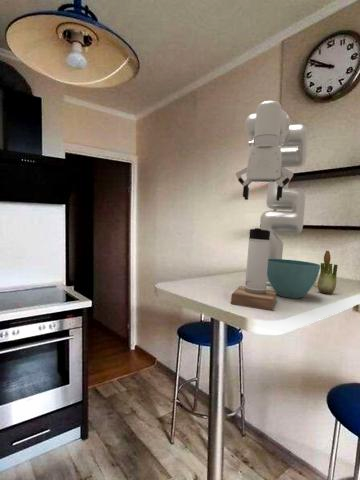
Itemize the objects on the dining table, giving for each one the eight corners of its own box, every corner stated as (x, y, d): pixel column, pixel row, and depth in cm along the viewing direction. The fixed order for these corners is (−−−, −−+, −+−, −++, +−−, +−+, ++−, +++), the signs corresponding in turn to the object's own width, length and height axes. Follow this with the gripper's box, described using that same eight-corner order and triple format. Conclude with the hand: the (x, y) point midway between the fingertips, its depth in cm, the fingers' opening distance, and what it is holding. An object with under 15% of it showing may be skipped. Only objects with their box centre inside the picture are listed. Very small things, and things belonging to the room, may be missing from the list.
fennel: (323, 289, 120) (326, 251, 120) (310, 284, 128) (313, 249, 128) (340, 289, 122) (343, 252, 121) (326, 285, 130) (329, 250, 129)
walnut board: (239, 294, 99) (240, 285, 99) (275, 300, 95) (276, 290, 95) (230, 303, 86) (231, 293, 86) (272, 310, 82) (273, 299, 82)
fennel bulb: (336, 294, 111) (339, 263, 111) (330, 295, 108) (334, 264, 107) (320, 291, 115) (323, 261, 115) (315, 292, 112) (318, 262, 112)
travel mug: (242, 292, 89) (247, 227, 88) (247, 288, 95) (252, 228, 94) (262, 295, 86) (268, 229, 85) (267, 291, 92) (272, 229, 91)
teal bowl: (268, 287, 116) (270, 257, 115) (318, 295, 107) (321, 262, 107) (258, 295, 100) (261, 260, 99) (316, 305, 91) (319, 267, 91)
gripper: (236, 142, 89) (231, 197, 90) (296, 139, 83) (291, 199, 84) (240, 148, 96) (236, 200, 97) (295, 146, 90) (291, 201, 91)
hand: (261, 199), depth 90 cm, fingers open, 9 cm apart
